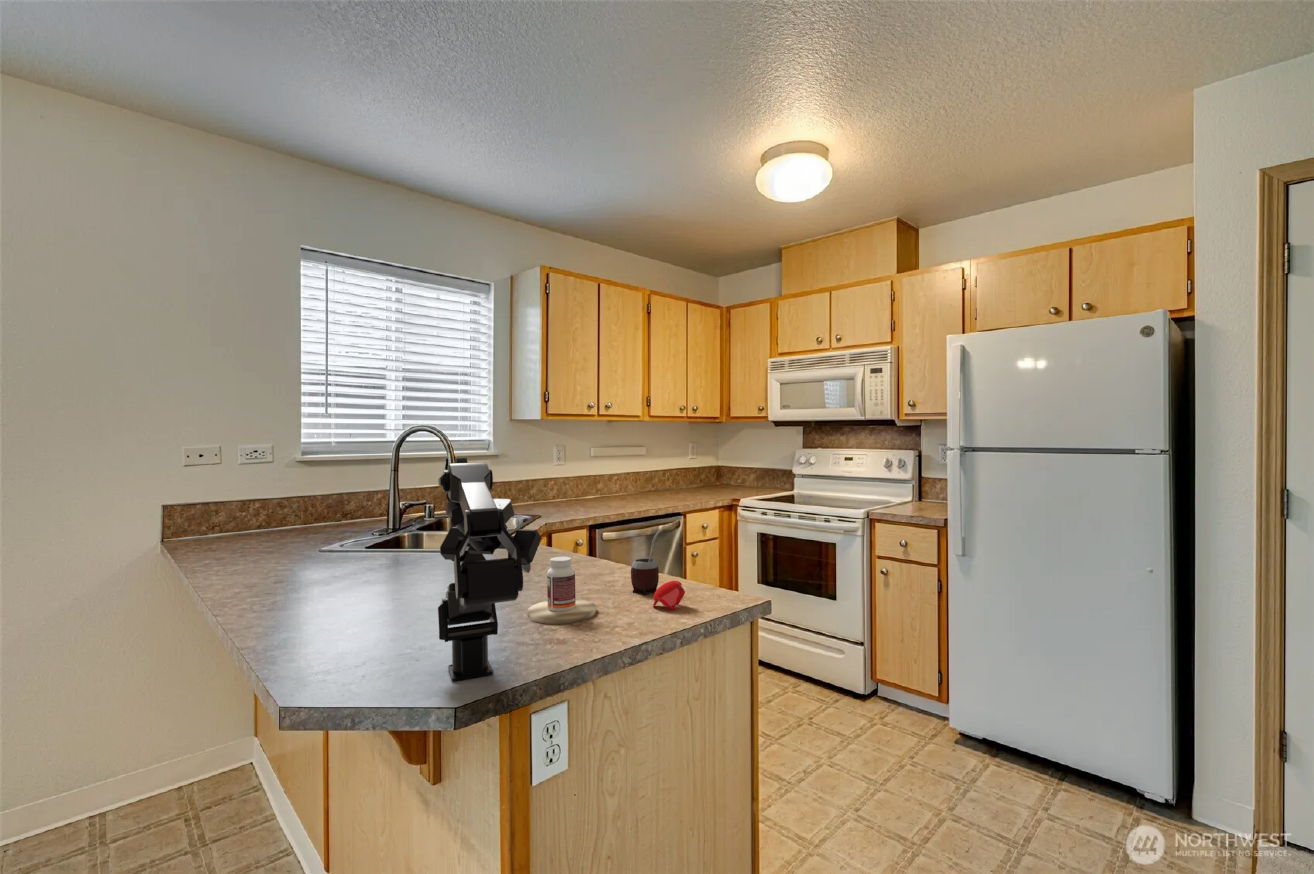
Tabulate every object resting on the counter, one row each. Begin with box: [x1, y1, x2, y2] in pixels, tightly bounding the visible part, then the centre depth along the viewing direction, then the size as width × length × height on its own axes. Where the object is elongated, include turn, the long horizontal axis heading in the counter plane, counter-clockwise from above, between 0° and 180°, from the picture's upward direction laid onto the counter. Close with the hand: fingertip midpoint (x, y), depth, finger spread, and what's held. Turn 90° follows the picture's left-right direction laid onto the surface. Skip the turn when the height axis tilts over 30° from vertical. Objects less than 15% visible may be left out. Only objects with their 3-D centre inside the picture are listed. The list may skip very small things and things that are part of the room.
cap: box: [652, 580, 686, 611], centre depth 135 cm, size 8×6×6 cm
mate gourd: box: [630, 529, 661, 596], centre depth 149 cm, size 8×8×15 cm
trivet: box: [527, 598, 597, 625], centre depth 131 cm, size 15×15×1 cm
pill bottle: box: [546, 556, 577, 611], centre depth 131 cm, size 6×6×11 cm
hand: (508, 569), depth 115 cm, fingers open, 9 cm apart
